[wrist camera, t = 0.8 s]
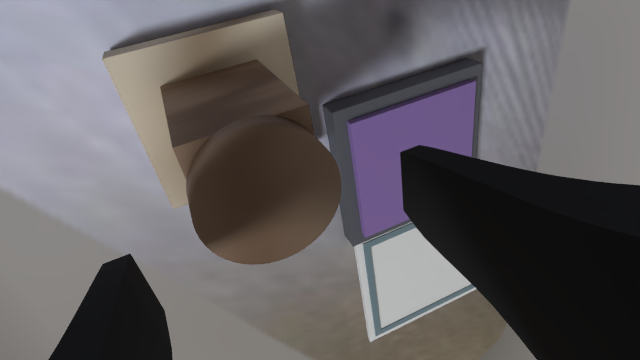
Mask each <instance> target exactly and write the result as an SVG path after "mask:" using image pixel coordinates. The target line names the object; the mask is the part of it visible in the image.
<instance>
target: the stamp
mask: <svg viewBox="0 0 640 360" xmlns="http://www.w3.org/2000/svg"><path fill="white" fill-rule="evenodd" d="M102 60H103V62H104V64H105V66H106V68H107V70H108V73H109V75H110V77H111V79H112V81H113V83H114V85H115V87H116V89H117V91H118V94H119V96H120V98H121V100H122V102H123V104H124V106H125V108H126V110H127V113H128V115H129V117H130V119H131V121H132V123H133V125H134V127H135V129H136V132H137V134H138V136H139V138H140V140H141V142H142V144H143V146H144V148H145V151H146V153H147V155H148V157H149V159H150V161H151V163H152V165H153V167H154V170H155V172H156V174H157V176H158V178H159V180H160V182H161V184H162V186H163V189H164V191H165V193H166V195H167V197H168V199H169V201H170V203H171V205H172V208H173V209H176V208H178V207H181V206H184V205H187V204H189V208H190V213H191V217H192V222H193V225H194V228H195V231H196V233H197V235H198V236H199V238H200V240H201V241H202V242H203V243H204V245H205V246H206V247H207V248H209V249H210V250H211V251H212V252H213V253H215V254H216V255H218V256H220V257H222V258H224V259H226V260H229V261H232V262H236V263H241V264H265V263H271V262H275V261H279V260H282V259H285V258H287V257H290V256H292V255H294V254H296V253H298V252H299V251H301V250H303V249H304V248H306V247H307V246H308V245H310V244H311V243H312V242H313V241H314V240H316V239H317V238H318V237H319V236H320V235H321V234H322V232H323V231H324V230H325V229H326V227H327V226H328V225H329V223H330V222H331V220H332V218H333V217H334V215H335V212H336V210H337V208H338V204H339V201H340V196H341V187H342V184H341V175H340V171H339V168H338V165H337V163H336V161H335V159H334V157H333V156H332V154H331V153H330V152H329V151H328V150H327V148H326V147H325V146H324V145H323V144H322V143H321V142H320V141H319V140H318V139H317V138H316V137H315V136H314V130H313V125H312V120H311V115H310V110H309V104H308V103H306V102H305V101H304V100H303V99H302V98H301V97H300V95H299V90H298V85H297V80H296V75H295V71H294V66H293V61H292V56H291V51H290V46H289V41H288V36H287V31H286V26H285V21H284V16H283V13H282V12H280V11H277V10H275V9H273V10H269V11H265V12H261V13H257V14H253V15H249V16H245V17H241V18H237V19H233V20H229V21H225V22H221V23H217V24H214V25H210V26H206V27H202V28H198V29H194V30H190V31H186V32H182V33H178V34H174V35H170V36H166V37H162V38H158V39H154V40H150V41H146V42H142V43H138V44H134V45H130V46H126V47H122V48H118V49H115V50H111V51H107V52H104V54H103V58H102Z"/></svg>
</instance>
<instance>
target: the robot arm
mask: <svg viewBox="0 0 640 360" xmlns="http://www.w3.org/2000/svg"><path fill="white" fill-rule="evenodd" d="M400 160H401V177H402V195H403V211H404V212H405V213H406V215H407V216H408V217H409V219H410V220H411V221H412V223H413V224H414V225H415V227H416V228H417V229H418V230H419V232H420V233H421V234H422V235H423V237H424V238H425V239H426V240H427V241H428V242H429V243H430V244H431V245H432V246H433V247H434V248H435V249H436V250H437V251H438V252H439V253H440V254H441V255H442V256H443V257H444V258H445V259H446V260H447V261H448V262H449V263H451V264H452V265H453V266H454V267H455V268H456V269H457V270H458V271H459V272H460V273H461V274H462V275H463V276H464V277H465V278H466V279H467V280H468V281H469V282H470V283H471V284H472V285H473V286H474V287H475V288H476V289H477V290H478V291H479V292H480V293H481V294H482V295H483V296H484V297H485V298H486V299H487V300H488V301H489V302H490V303H491V304H492V305H493V306H494V308H495V309H496V310H497V311H498V312H499V314H500V315H501V316H502V317H503V318H504V320H505V321H506V322H507V323H508V324H509V325H510V327H511V328H512V329H513V330H514V331H515V333H516V334H517V335H518V336H519V337H520V339H521V340H522V341H523V343H524V344H525V345H526V346H527V348H528V349H529V350H530V351H531V353H532V354H533V355H534V356H535V358H536V359H537V360H640V186H639V185H627V184H614V183H605V182H595V181H588V180H581V179H574V178H567V177H560V176H554V175H548V174H543V173H538V172H533V171H528V170H523V169H518V168H514V167H509V166H505V165H501V164H497V163H492V162H488V161H484V160H480V159H477V158H473V157H469V156H465V155H461V154H457V153H453V152H449V151H445V150H441V149H437V148H433V147H428V146H422V145H418V146H415V147H412V148H410V149H407V150H404V151H402V152H400ZM49 360H172V348H171V342H170V337H169V331H168V326H167V321H166V316H165V311H164V309H163V307H162V306H161V304H160V302H159V301H158V299H157V297H156V296H155V294H154V292H153V291H152V289H151V287H150V286H149V284H148V282H147V281H146V279H145V277H144V276H143V274H142V272H141V271H140V269H139V267H138V266H137V264H136V262H135V261H134V259H133V257H132V256H131V254H128V255H125V256H123V257H120V258H118V259H115V260H112V261H110V262H107V263H105V264H103V265H102V266H101V268H100V270H99V272H98V273H97V275H96V277H95V279H94V281H93V283H92V285H91V286H90V288H89V290H88V292H87V294H86V296H85V297H84V299H83V301H82V303H81V305H80V307H79V308H78V310H77V312H76V314H75V316H74V317H73V319H72V321H71V323H70V324H69V326H68V328H67V330H66V332H65V333H64V335H63V337H62V338H61V340H60V342H59V344H58V345H57V347H56V349H55V350H54V352H53V353H52V355H51V357H50V358H49Z"/></svg>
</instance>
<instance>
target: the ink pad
mask: <svg viewBox="0 0 640 360" xmlns="http://www.w3.org/2000/svg"><path fill="white" fill-rule="evenodd" d="M481 75H482V63H480V62H477V61H474V60H471V59H468V58H467V59H463V60H460V61H457V62H454V63H451V64H448V65H445V66H442V67H439V68H436V69H433V70H430V71H426V72H423V73H420V74H417V75H414V76H411V77H408V78H405V79H402V80H399V81H396V82H393V83H390V84H386V85H383V86H380V87H377V88H374V89H371V90H368V91H365V92H362V93H359V94H356V95H353V96H350V97H346V98H343V99H340V100H337V101H334V102H331V103H328V104H325V105H323V110H324V116H325V122H326V128H327V133H328V139H329V145H330V151H331V154H332V156H333V157H334V159H335V161H336V163H337V165H338V168H339V171H340V175H341V184H342V187H341V196H340V201H339V204H340V209H341V215H342V221H343V227H344V233H345V236H346V237H347V239H348V240H349V241H350V243H351V244H352V245H353V247H354V246H356V245H358V244H361V243H363V242H365V241H368V240H370V239H372V238H375V237H377V236H380V235H382V234H384V233H387V232H389V231H391V230H394V229H396V228H398V227H401V226H403V225H405V224H408V223H410V222H412V221H411V220H410V219H409V217H408V216H407V215H406V213H405V212H404V211H403V195H402V177H401V160H400V152H402V151H404V150H407V149H410V148H412V147H415V146H418V145H422V146H428V147H433V148H437V149H441V150H445V151H449V152H453V153H457V154H461V155H465V156H469V157H473V158H476V148H477V134H478V119H479V104H480V90H481Z"/></svg>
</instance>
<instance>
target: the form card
mask: <svg viewBox="0 0 640 360" xmlns="http://www.w3.org/2000/svg"><path fill="white" fill-rule="evenodd" d="M354 249H355V255H356V262H357V268H358V275H359V281H360V287H361V294H362V300H363V307H364V313H365V319H366V326H367V332H368V338H369V340H370V342H371V341H373V340H375V339H377V338H379V337H381V336H383V335H385V334H387V333H389V332H391V331H393V330H395V329H397V328H399V327H401V326H403V325H405V324H407V323H409V322H411V321H413V320H415V319H417V318H419V317H421V316H423V315H425V314H427V313H429V312H431V311H433V310H435V309H438V308H440V307H442V306H444V305H446V304H448V303H450V302H452V301H454V300H456V299H458V298H460V297H462V296H464V295H466V294H468V293H470V292H472V291H474V290H476V288H475V287H474V286H473V285H472V284H471V283H470V282H469V281H468V280H467V279H466V278H465V277H464V276H463V275H462V274H461V273H460V272H459V271H458V270H457V269H456V268H455V267H454V266H453V265H452V264H451V263H449V262H448V261H447V260H446V259H445V258H444V257H443V256H442V255H441V254H440V253H439V252H438V251H437V250H436V249H435V248H434V247H433V246H432V245H431V244H430V243H429V242H428V241H427V240H426V239H425V238H424V237H423V235H422V234H421V233H420V232H419V230H418V229H417V228H416V227H415V225H414V224H413V223H412V222H410V223H408V224H405V225H403V226H401V227H398V228H396V229H394V230H391V231H389V232H387V233H384V234H382V235H380V236H377V237H375V238H372V239H370V240H368V241H365V242H363V243H361V244H358V245H356V246H354Z"/></svg>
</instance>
